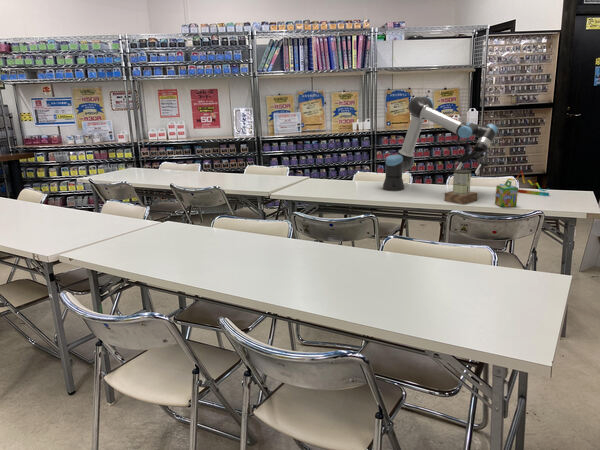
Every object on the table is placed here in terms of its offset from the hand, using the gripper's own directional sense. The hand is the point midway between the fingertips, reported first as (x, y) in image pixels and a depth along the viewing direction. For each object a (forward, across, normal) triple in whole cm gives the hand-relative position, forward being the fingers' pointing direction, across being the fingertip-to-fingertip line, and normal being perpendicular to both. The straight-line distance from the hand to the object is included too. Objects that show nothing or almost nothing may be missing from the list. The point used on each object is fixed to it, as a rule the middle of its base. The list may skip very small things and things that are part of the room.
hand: (466, 172), depth 290 cm
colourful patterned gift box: (+9, -25, -16) cm, 31 cm away
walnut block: (+15, 0, -10) cm, 18 cm away
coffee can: (+12, 0, -6) cm, 13 cm away
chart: (-18, -16, -43) cm, 49 cm away
